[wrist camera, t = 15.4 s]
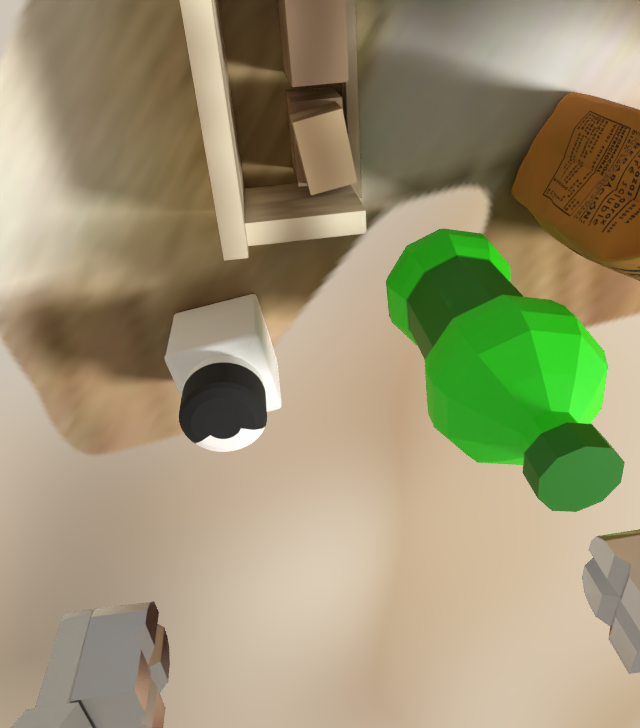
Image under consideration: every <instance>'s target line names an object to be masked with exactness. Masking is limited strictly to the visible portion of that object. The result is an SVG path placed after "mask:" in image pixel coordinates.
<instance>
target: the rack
mask: <svg viewBox="0 0 640 728" xmlns="http://www.w3.org/2000/svg"><path fill="white" fill-rule="evenodd" d="M345 4H346V27H347V51H348V75H349V82H342V101H343V114H344V119H345V124H346V129H347V134H348V139H349V144H350V149H351V153H352V158H353V163H354V168H355V173H356V178H357V183H354V184H350V185H347V186H343V187H340V188H336V189H332V190H329V191H325V192H322V193H318V194H314V195H311V194H310V191H309V188H308V186H300V187H298V183H293V184H283V185H274V186H264V187H254V188H244V182H243V175H242V168H241V160H240V153H239V146H238V139H237V132H236V125H235V118H234V111H233V103H232V96H231V89H230V82H229V75H228V68H227V61H226V54H225V47H224V39H223V32H222V25H221V18H220V11H219V4H218V0H180V6H181V12H182V18H183V24H184V30H185V36H186V41H187V47H188V53H189V59H190V65H191V71H192V77H193V82H194V88H195V94H196V100H197V106H198V112H199V117H200V123H201V129H202V135H203V141H204V147H205V153H206V158H207V164H208V170H209V176H210V182H211V188H212V194H213V199H214V205H215V211H216V217H217V223H218V229H219V235H220V240H221V246H222V252H223V258H224V261H225V260H234V259H243V258H248V246H255V245H264V244H273V243H282V242H291V241H300V240H310V239H319V238H328V237H337V236H346V235H356V234H365V233H366V210H365V208H364V207H363V205H362V203H361V202H360V200H359V198H362V195H361V164H360V133H359V102H358V72H357V41H356V10H355V0H345Z"/></svg>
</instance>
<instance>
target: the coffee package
mask: <svg viewBox="0 0 640 728" xmlns="http://www.w3.org/2000/svg"><path fill="white" fill-rule="evenodd" d="M511 193H512V195H513V197H514V198H515V199H516V200H517V201H518V202H519V203H521V204H522V205H523V206H525V207H526V208H527V209H528V210H529V211H530V212H531V213H532V215H533V216H534V218H535V219H536V221H537V222H538V223H539V224H540V225H541V226H542V228H543V229H544V230H545V231H547V232H548V233H549V234H550V235H551V236H553V237H554V238H555V239H556V240H558V241H559V242H561V243H562V244H564V245H565V246H567V247H568V248H570V249H571V250H573V251H574V252H576V253H577V254H579V255H581V256H583V257H584V258H586V259H588V260H591V261H593V262H595V263H598V264H600V265H602V266H605V267H607V268H609V269H612V270H614V271H617V272H619V273H622V274H624V275H627V276H629V277H632V278H634V279H637V280H639V281H640V110H638V109H635V108H632V107H629V106H625V105H622V104H619V103H615V102H612V101H609V100H606V99H602V98H599V97H595V96H591V95H585V94H579V93H569V94H567V95H566V96H564V97H563V98H562V99H561V100H560V101H559V103H558V104H557V106H556V108H555V110H554V111H553V113H552V114H551V116H550V117H549V118H548V120H547V121H546V122H545V124H544V125H543V127H542V128H541V129H540V131H539V132H538V134H537V136H536V138H535V139H534V141H533V143H532V144H531V147H530V149H529V151H528V153H527V155H526V157H525V158H524V160H523V162H522V164H521V166H520V168H519V170H518V173H517V176H516V179H515V182H514V184H513V187H512V189H511Z"/></svg>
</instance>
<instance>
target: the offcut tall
mask: <svg viewBox="0 0 640 728" xmlns="http://www.w3.org/2000/svg"><path fill="white" fill-rule="evenodd" d="M277 3H278V13H279V24H280V34H281V44H282V55H283V65H284V73H285V74H286V76H287V78H288V80H289V82H290V83H291V85H292V87H300V86H310V85H321V84H331V83H342V82H349V75H348V51H347V27H346V4H345V0H277Z"/></svg>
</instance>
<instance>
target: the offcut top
mask: <svg viewBox="0 0 640 728" xmlns="http://www.w3.org/2000/svg"><path fill="white" fill-rule="evenodd" d="M290 119H291V123H292V127H293V131H294V135H295V139H296V143H297V147H298V151H299V155H300V158H301V162H302V166H303V170H304V174H305V178H306V182H307V185H308V188H309V191H310V194H311V195H314V194H318V193H322V192H325V191H329V190H332V189H336V188H340V187H343V186H347V185H350V184H354V183H357V178H356V173H355V168H354V163H353V158H352V153H351V149H350V144H349V139H348V134H347V129H346V124H345V119H344V114H343V110H342V108H341V107H340V106H339V104H338V103H337V102H332V103H329V104H325V105H322V106H318V107H314V108H311V109H307V110H304V111H300V112H297V113H293V114H290Z"/></svg>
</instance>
